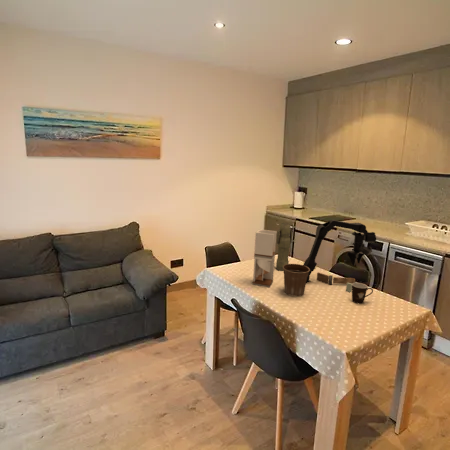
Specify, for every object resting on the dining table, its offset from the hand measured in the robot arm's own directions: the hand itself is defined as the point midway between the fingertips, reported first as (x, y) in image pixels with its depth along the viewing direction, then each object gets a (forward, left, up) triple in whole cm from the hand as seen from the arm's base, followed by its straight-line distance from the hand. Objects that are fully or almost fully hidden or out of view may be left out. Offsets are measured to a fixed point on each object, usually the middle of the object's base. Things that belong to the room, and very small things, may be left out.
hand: (356, 264), depth 224 cm
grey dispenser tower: (-51, +38, -14) cm, 65 cm away
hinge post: (-16, +13, -13) cm, 25 cm away
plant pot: (-47, +16, -14) cm, 52 cm away
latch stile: (-18, -5, -13) cm, 23 cm away
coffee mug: (-27, -17, -14) cm, 35 cm away
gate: (-10, +3, -12) cm, 16 cm away
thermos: (-17, +48, -14) cm, 53 cm away
